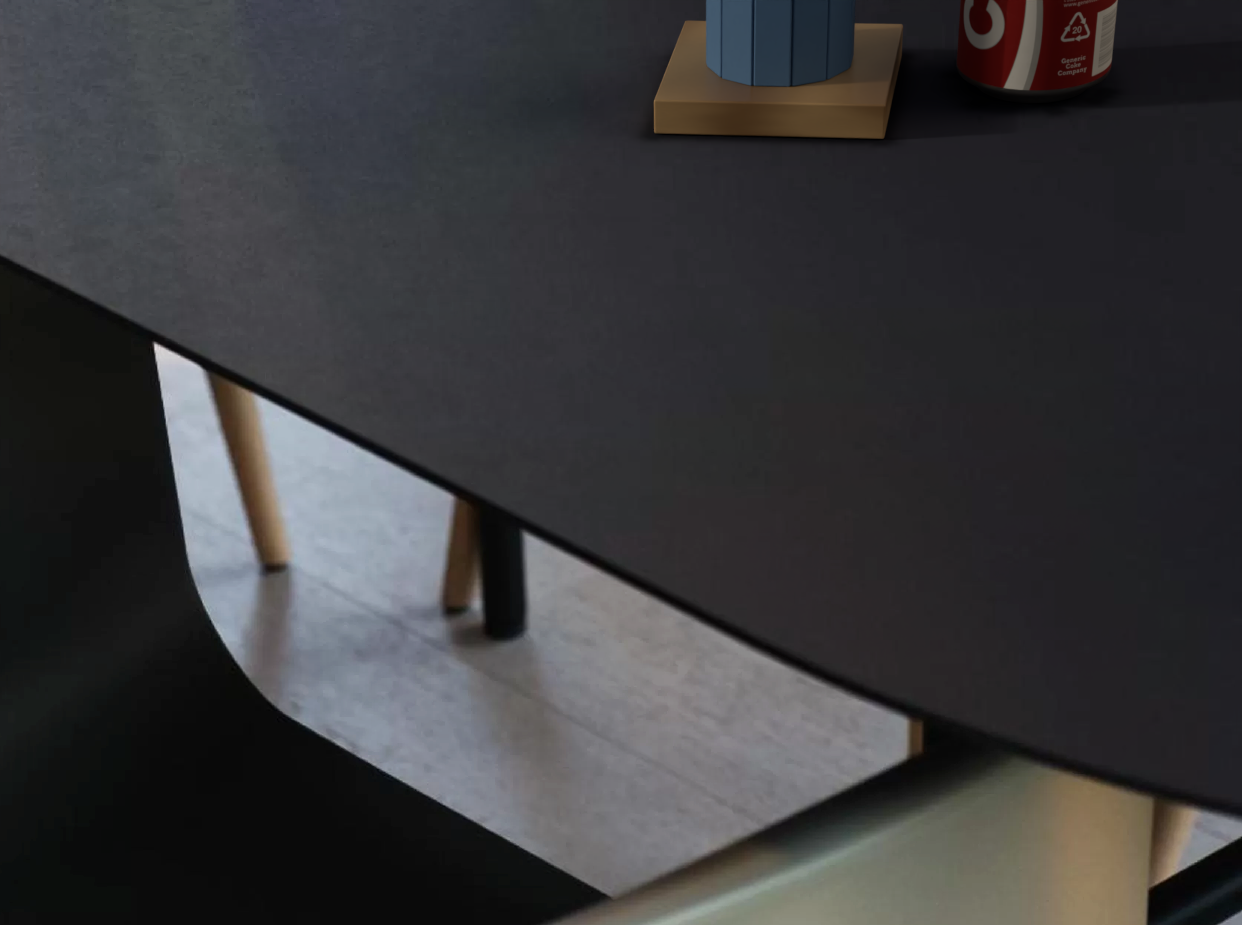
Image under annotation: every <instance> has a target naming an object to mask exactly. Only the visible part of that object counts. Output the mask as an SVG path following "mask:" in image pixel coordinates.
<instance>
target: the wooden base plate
mask: <svg viewBox="0 0 1242 925" xmlns="http://www.w3.org/2000/svg"><path fill="white" fill-rule="evenodd" d="M903 35H904V25H903V24H902V23H863V22H861V23H860V22H859V23H857V22H855V32H854V55H853V59H852V63H851V67H850V68H849V69H848V70H846V71H844V72H842V73H840V74H838V75H836V76H834V77H832V78H831V79H826V80H825V81H820V82H815V83H809V84H804V85H798V86H792V85H790V86H789V87H776V86H754V85H752V86H750V85H746V84H742V83H738V82H734V81H730V80H726V79H722V77H719V76H718V75H717V74H716V73H715V72H713V71H712V70H711V69H710V68H709V67H707V64H706V20H685V21H684V23H683V26H682V29H681V31H680V33H679V36H678V38H677V40H676V44H675V45H674V49H673V51H672V54H671V56H670V59H669V62H668V64H667V67H666V69H665V72H664V74H663V77H662V78H661V82H660V84H659V87H658V90H657V92H656V95H655V97H654V100H653V129H654V130H653V132H654V134H658V135H659V134H660V135H661V134H662V135H699V136H701V135H702V136H737V137H738V136H740V137H741V136H742V137H743V136H745V137H782V138H783V137H784V138H785V137H786V138H787V137H788V138H821V139H822V138H825V139H826V138H827V139H828V138H829V139H864V140H865V139H868V140H869V139H870V140H871V139H872V140H884V139H885V138H886V131H887V127H888V123H889V118H890V112H891V108H892V102H893V98H894V93H895V90H896V84H897V80H898V75H899V70H900V65H901V61H902V56H903V39H904V38H903Z"/></svg>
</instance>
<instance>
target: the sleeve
mask: <svg viewBox="0 0 1242 925" xmlns="http://www.w3.org/2000/svg"><path fill="white" fill-rule="evenodd" d="M856 5H857V4H856V0H705V21H706V64H707V67H709V68H710V69H711V70H712V71H713V72H715V73H716V74H717V75H718V76H719V77H722V79H726V80H730V81H734V82H738V83H742V84H746V85H750V86H752V85H754V86H776V87H789V86H790V85H792V86H798V85H804V84H809V83H815V82H820V81H825V80H826V79H831V78H832V77H834V76H836V75H838V74H840V73H842V72H844V71H846V70H848V69H849V68H850V67H851V63H852V59H853V55H854V32H855V23H856Z"/></svg>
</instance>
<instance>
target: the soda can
mask: <svg viewBox="0 0 1242 925" xmlns="http://www.w3.org/2000/svg"><path fill="white" fill-rule="evenodd" d="M1118 2H1119V0H960V2H959V3H960V4H959V19H958V20H959V21H958V36H957V51H956V71H957V73H958V75H959V76H960V77H961V78H962V79H963V80H964V81H965V82H966V83H969V84H970V85H972V86H973V87H976V88H977V89H978V90H979V91H980V92H982V93H983V94H985V95H987V96H989V97H992V98H993V99H997V100H1002V101H1006V102H1012V103H1020V104H1046V103H1047V104H1048V103H1054V102H1061V101H1065V100H1069V99H1071V98H1074V97H1076V96H1079V95H1081V94H1083V93H1084V92H1085V91H1086V90H1088V89H1091V88H1093V87H1095V86H1097V85H1098V84H1100V83H1101V82H1103V81H1104V80H1106V78H1107V77H1108V76H1109V75H1110V72H1111V70H1112V61H1113V52H1114V51H1113V50H1114V41H1115V32H1116V22H1117V12H1118Z"/></svg>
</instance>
